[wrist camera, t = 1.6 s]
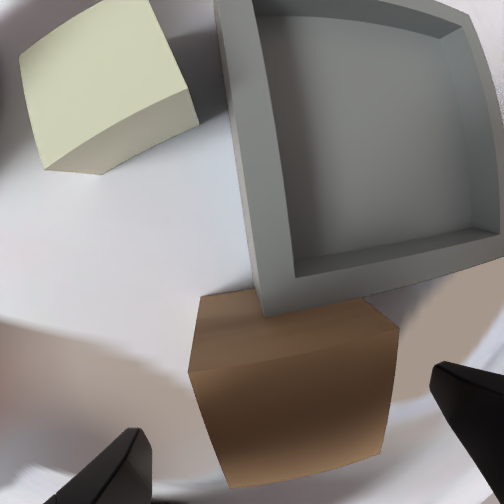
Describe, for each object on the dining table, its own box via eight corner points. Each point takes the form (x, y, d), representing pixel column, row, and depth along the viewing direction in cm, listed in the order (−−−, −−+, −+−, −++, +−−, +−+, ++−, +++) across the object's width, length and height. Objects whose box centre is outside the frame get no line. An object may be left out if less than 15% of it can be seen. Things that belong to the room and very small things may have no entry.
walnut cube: (334, 377, 12) (380, 453, 7) (225, 399, 12) (230, 488, 7) (331, 273, 11) (399, 327, 6) (200, 295, 11) (187, 372, 6)
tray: (473, 243, 12) (510, 254, 9) (254, 288, 11) (264, 317, 8) (438, 32, 9) (468, 14, 7) (214, 11, 9) (213, -27, 6)
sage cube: (200, 125, 10) (187, 88, 6) (101, 175, 10) (43, 170, 6) (162, 41, 9) (140, -18, 5) (72, 89, 9) (18, 56, 5)
